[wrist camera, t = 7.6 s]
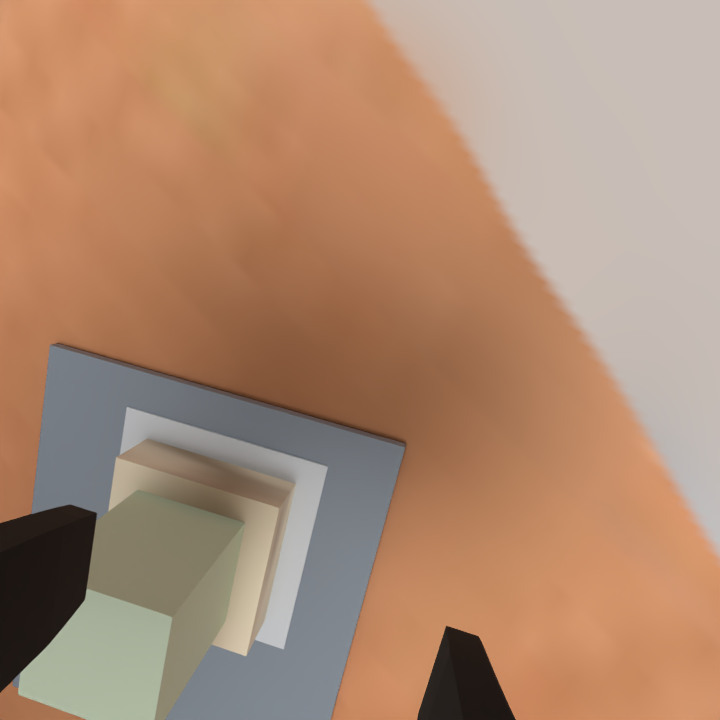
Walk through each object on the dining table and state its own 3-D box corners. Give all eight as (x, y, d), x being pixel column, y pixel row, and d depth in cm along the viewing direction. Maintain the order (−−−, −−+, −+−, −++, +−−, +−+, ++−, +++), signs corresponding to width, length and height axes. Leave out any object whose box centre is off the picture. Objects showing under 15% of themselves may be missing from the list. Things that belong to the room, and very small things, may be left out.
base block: (125, 573, 22) (94, 604, 21) (147, 438, 21) (116, 457, 19) (264, 620, 22) (246, 656, 20) (296, 483, 20) (279, 508, 18)
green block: (123, 587, 20) (17, 694, 15) (137, 489, 19) (30, 569, 14) (225, 621, 20) (150, 742, 15) (245, 522, 19) (172, 617, 14)
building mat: (19, 679, 25) (10, 687, 25) (57, 343, 22) (48, 345, 21) (312, 786, 24) (309, 797, 23) (406, 443, 20) (404, 448, 19)
